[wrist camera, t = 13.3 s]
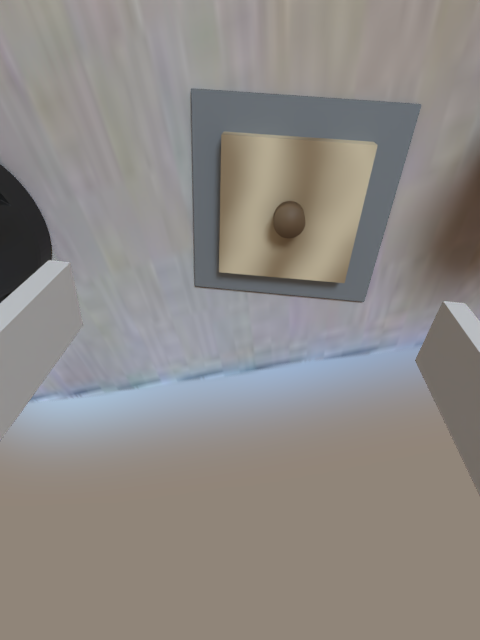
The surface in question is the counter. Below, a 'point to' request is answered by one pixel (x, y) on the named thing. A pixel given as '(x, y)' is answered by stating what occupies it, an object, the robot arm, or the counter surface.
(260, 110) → the rubber mat
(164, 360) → the counter surface
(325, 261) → the bamboo lid
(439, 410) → the robot arm
